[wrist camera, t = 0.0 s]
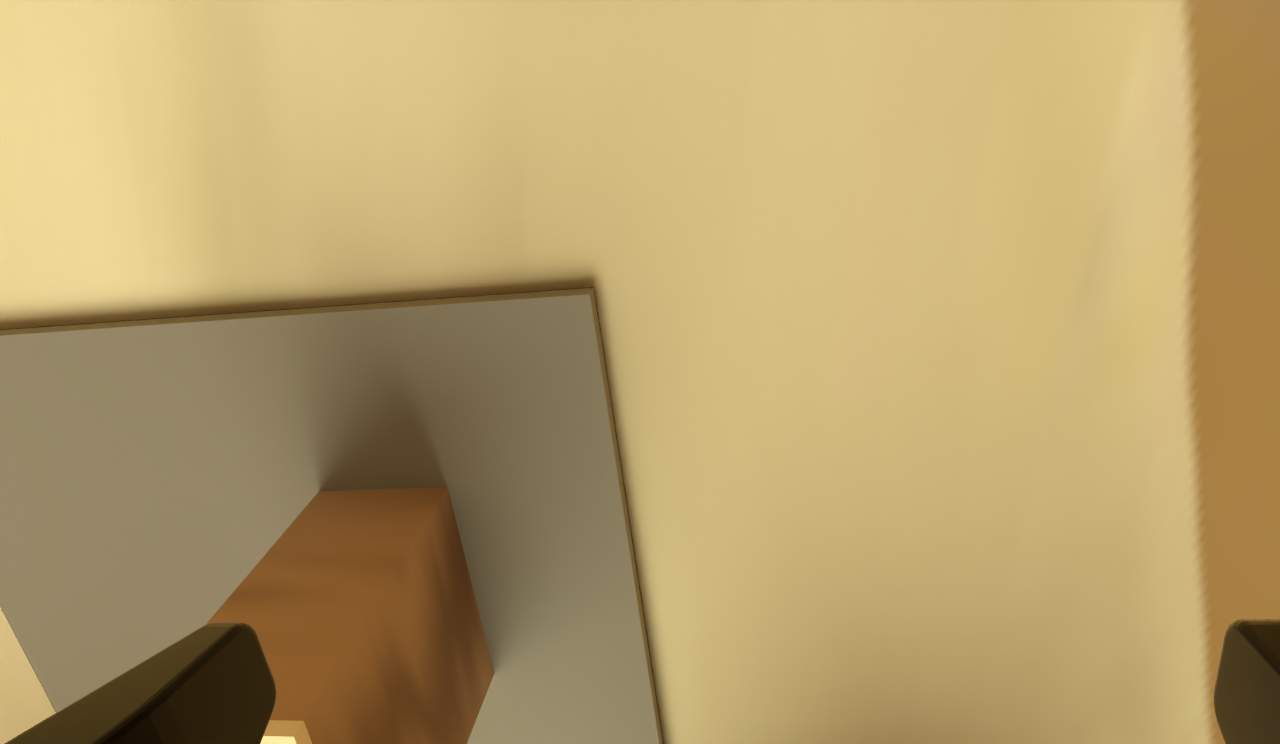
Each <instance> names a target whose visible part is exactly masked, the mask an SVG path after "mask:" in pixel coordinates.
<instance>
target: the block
mask: <svg viewBox="0 0 1280 744" xmlns="http://www.w3.org/2000/svg"><path fill="white" fill-rule="evenodd" d="M210 623H245V624H248V625H250V626H251V627H252V628H253V629H254V630H255V632H256V634H257V636H258V639H259V641H260V644H261V647H262V649H263V652H264V654H265V657H266V660H267V662H268V665H269V667H270V670H271V673H272V675H273V678H274V681H275V684H276V701H275V706H274V709H273V712H272V715H271V718H270V720H269V723H268V725H267V728H266V730H265V733H264V736H263V738H262V741H261V743H260V744H467V742H468V739H469V737H470V734H471V732H472V729H473V727H474V724H475V722H476V719H477V717H478V714H479V711H480V709H481V706H482V704H483V701H484V699H485V696H486V694H487V691H488V688H489V686H490V683H491V681H492V678H493V676H494V672H493V668H492V664H491V660H490V656H489V652H488V648H487V644H486V640H485V636H484V632H483V628H482V624H481V620H480V616H479V612H478V608H477V604H476V599H475V595H474V591H473V587H472V583H471V579H470V575H469V571H468V567H467V563H466V559H465V555H464V551H463V547H462V543H461V539H460V535H459V531H458V527H457V523H456V519H455V515H454V511H453V507H452V503H451V499H450V495H449V491H448V487H435V488H404V489H372V490H340V491H319V492H318V493H317V494H316V495H315V497H314V498H313V499H312V500H311V501H310V502H309V504H308V505H307V506H306V507H305V508H304V509H303V511H302V512H301V513H300V514H299V515H298V517H297V518H296V519H295V520H294V521H293V522H292V524H291V525H290V526H289V527H288V528H287V529H286V531H285V532H284V533H283V534H282V535H281V537H280V538H279V539H278V540H277V541H276V542H275V544H274V545H273V546H272V547H271V548H270V549H269V551H268V552H267V553H266V554H265V555H264V557H263V558H262V559H261V560H260V561H259V562H258V564H257V565H256V566H255V567H254V568H253V569H252V571H251V572H250V573H249V574H248V575H247V577H246V578H245V579H244V580H243V581H242V582H241V584H240V585H239V586H238V587H237V588H236V589H235V591H234V592H233V593H232V594H231V595H230V597H229V598H228V599H227V600H226V601H225V602H224V604H223V605H222V606H221V607H220V608H219V609H218V611H217V612H216V613H215V614H214V615H213V617H212V618H211V619H210V620H209V621H208V622H207V624H210ZM207 624H206V625H207Z"/></svg>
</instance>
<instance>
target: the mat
mask: <svg viewBox="0 0 1280 744" xmlns="http://www.w3.org/2000/svg"><path fill="white" fill-rule="evenodd" d="M435 487H448V491H449V495H450V499H451V503H452V507H453V511H454V515H455V519H456V523H457V527H458V531H459V535H460V539H461V543H462V547H463V551H464V555H465V559H466V563H467V567H468V571H469V575H470V579H471V583H472V587H473V591H474V595H475V599H476V604H477V608H478V612H479V616H480V620H481V624H482V628H483V632H484V636H485V640H486V644H487V648H488V652H489V656H490V660H491V664H492V668H493V672H494V676H493V678H492V681H491V683H490V686H489V688H488V691H487V694H486V696H485V699H484V701H483V704H482V706H481V709H480V711H479V714H478V717H477V719H476V722H475V724H474V727H473V729H472V732H471V734H470V737H469V739H468V742H467V744H663V741H662V734H661V727H660V721H659V714H658V708H657V701H656V695H655V688H654V682H653V675H652V668H651V662H650V655H649V649H648V642H647V636H646V629H645V623H644V616H643V609H642V603H641V596H640V590H639V583H638V577H637V570H636V564H635V557H634V550H633V544H632V537H631V531H630V524H629V518H628V511H627V504H626V498H625V491H624V485H623V478H622V472H621V465H620V459H619V452H618V445H617V439H616V432H615V426H614V419H613V413H612V406H611V400H610V393H609V386H608V380H607V373H606V367H605V360H604V354H603V347H602V341H601V334H600V327H599V321H598V314H597V308H596V301H595V295H594V288H580V289H566V290H552V291H538V292H524V293H510V294H496V295H482V296H469V297H455V298H441V299H427V300H413V301H399V302H385V303H371V304H357V305H343V306H329V307H315V308H301V309H287V310H273V311H259V312H245V313H231V314H217V315H203V316H189V317H175V318H161V319H147V320H133V321H119V322H105V323H91V324H77V325H63V326H49V327H35V328H21V329H7V330H0V607H1V609H2V611H3V613H4V615H5V617H6V619H7V620H8V622H9V624H10V626H11V628H12V630H13V632H14V634H15V636H16V638H17V639H18V641H19V643H20V645H21V647H22V649H23V651H24V653H25V655H26V657H27V658H28V660H29V662H30V664H31V666H32V668H33V670H34V672H35V674H36V676H37V677H38V679H39V681H40V683H41V685H42V687H43V689H44V691H45V693H46V695H47V697H48V698H49V700H50V702H51V704H52V706H53V708H54V710H55V712H56V713H57V712H59V711H61V710H62V709H64V708H66V707H67V706H69V705H71V704H72V703H74V702H76V701H78V700H79V699H81V698H83V697H84V696H86V695H88V694H89V693H91V692H93V691H94V690H96V689H98V688H100V687H101V686H103V685H105V684H106V683H108V682H110V681H111V680H113V679H115V678H116V677H118V676H120V675H121V674H123V673H125V672H127V671H128V670H130V669H132V668H133V667H135V666H137V665H138V664H140V663H142V662H143V661H145V660H147V659H148V658H150V657H152V656H154V655H155V654H157V653H159V652H160V651H162V650H164V649H165V648H167V647H169V646H170V645H172V644H174V643H175V642H177V641H179V640H181V639H182V638H184V637H186V636H187V635H189V634H191V633H192V632H194V631H196V630H197V629H199V628H201V627H203V626H205V625H206V624H207V622H208V621H209V620H210V619H211V618H212V617H213V615H214V614H215V613H216V612H217V611H218V609H219V608H220V607H221V606H222V605H223V604H224V602H225V601H226V600H227V599H228V598H229V597H230V595H231V594H232V593H233V592H234V591H235V589H236V588H237V587H238V586H239V585H240V584H241V582H242V581H243V580H244V579H245V578H246V577H247V575H248V574H249V573H250V572H251V571H252V569H253V568H254V567H255V566H256V565H257V564H258V562H259V561H260V560H261V559H262V558H263V557H264V555H265V554H266V553H267V552H268V551H269V549H270V548H271V547H272V546H273V545H274V544H275V542H276V541H277V540H278V539H279V538H280V537H281V535H282V534H283V533H284V532H285V531H286V529H287V528H288V527H289V526H290V525H291V524H292V522H293V521H294V520H295V519H296V518H297V517H298V515H299V514H300V513H301V512H302V511H303V509H304V508H305V507H306V506H307V505H308V504H309V502H310V501H311V500H312V499H313V498H314V497H315V495H316V494H317V493H318V492H319V491H340V490H372V489H404V488H435Z"/></svg>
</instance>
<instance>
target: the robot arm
mask: <svg viewBox="0 0 1280 744" xmlns="http://www.w3.org/2000/svg"><path fill="white" fill-rule="evenodd" d="M275 701H276V684H275V681H274V678H273V675H272V673H271V670H270V667H269V665H268V662H267V660H266V657H265V654H264V652H263V649H262V647H261V644H260V641H259V639H258V636H257V634H256V632H255V630H254V629H253V628H252V627H251V626H250V625H248V624H245V623H210V624H207V625H205V626H203V627H201V628H199V629H197V630H196V631H194V632H192V633H191V634H189V635H187V636H186V637H184V638H182V639H181V640H179V641H177V642H175V643H174V644H172V645H170V646H169V647H167V648H165V649H164V650H162V651H160V652H159V653H157V654H155V655H154V656H152V657H150V658H148V659H147V660H145V661H143V662H142V663H140V664H138V665H137V666H135V667H133V668H132V669H130V670H128V671H127V672H125V673H123V674H121V675H120V676H118V677H116V678H115V679H113V680H111V681H110V682H108V683H106V684H105V685H103V686H101V687H100V688H98V689H96V690H94V691H93V692H91V693H89V694H88V695H86V696H84V697H83V698H81V699H79V700H78V701H76V702H74V703H72V704H71V705H69V706H67V707H66V708H64V709H62V710H61V711H59V712H57V713H56V714H54V715H52V716H51V717H49V718H47V719H45V720H44V721H42V722H40V723H39V724H37V725H35V726H34V727H32V728H30V729H29V730H27V731H25V732H24V733H22V734H20V735H18V736H17V737H15V738H13V739H12V740H10V741H8V742H7V743H5V744H260V743H261V741H262V738H263V736H264V733H265V730H266V728H267V725H268V723H269V720H270V718H271V715H272V712H273V709H274V706H275ZM1214 707H1215V713H1216V718H1217V721H1218V725H1219V727H1220V730H1221V733H1222V735H1223V738H1224V741H1225V743H1226V744H1280V620H1279V619H1261V620H1260V619H1253V620H1252V619H1247V620H1243V619H1242V620H1237V621H1235V622H1233V623H1231V624H1230V625H1229V627H1228V629H1227V631H1226V634H1225V638H1224V643H1223V648H1222V654H1221V659H1220V664H1219V669H1218V675H1217V680H1216V685H1215V691H1214Z"/></svg>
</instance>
